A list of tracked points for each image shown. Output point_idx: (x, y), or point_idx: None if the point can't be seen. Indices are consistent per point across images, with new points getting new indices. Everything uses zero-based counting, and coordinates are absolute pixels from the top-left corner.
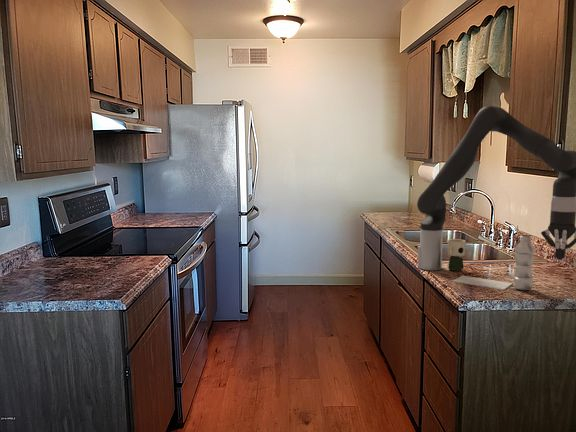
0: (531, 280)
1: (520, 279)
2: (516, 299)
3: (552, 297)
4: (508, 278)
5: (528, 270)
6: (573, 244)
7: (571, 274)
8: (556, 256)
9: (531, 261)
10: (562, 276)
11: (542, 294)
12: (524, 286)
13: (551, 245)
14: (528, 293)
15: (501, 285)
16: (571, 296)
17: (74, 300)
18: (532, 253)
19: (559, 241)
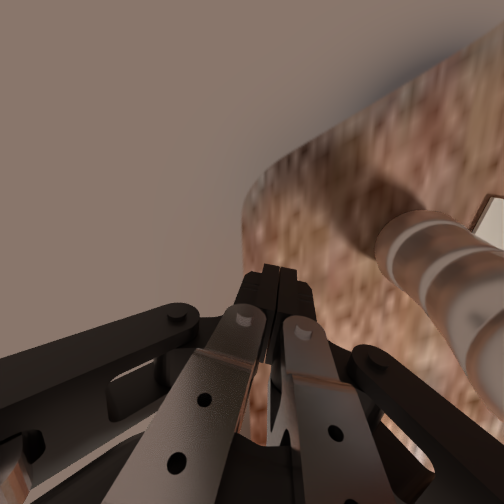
0: (392, 242)
1: (451, 220)
2: (456, 60)
3: (300, 180)
4: (439, 365)
5: (438, 251)
6: (108, 325)
7: None
8: (301, 286)
9: (453, 289)
10: None
11: (334, 206)
12: (414, 212)
13: (374, 352)
14: (387, 195)
15: None
16: (241, 226)
17: None
18: (500, 318)
19: (282, 401)
